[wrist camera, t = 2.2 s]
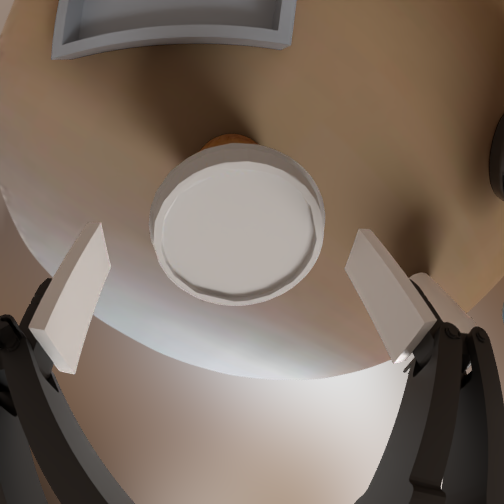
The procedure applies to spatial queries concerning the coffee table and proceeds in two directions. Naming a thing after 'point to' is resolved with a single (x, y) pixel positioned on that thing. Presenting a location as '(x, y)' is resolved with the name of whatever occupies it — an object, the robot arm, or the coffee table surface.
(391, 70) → the coffee table surface
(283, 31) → the slate tray
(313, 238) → the disposable coffee cup
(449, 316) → the foam cup
